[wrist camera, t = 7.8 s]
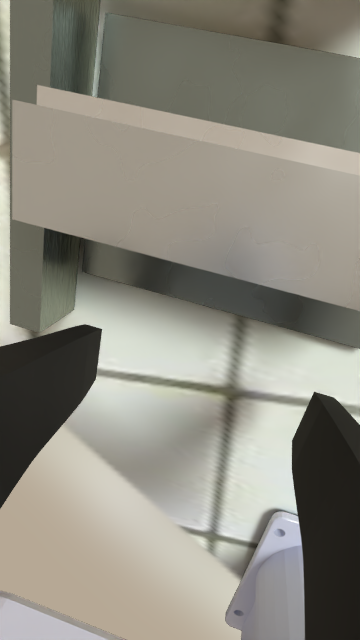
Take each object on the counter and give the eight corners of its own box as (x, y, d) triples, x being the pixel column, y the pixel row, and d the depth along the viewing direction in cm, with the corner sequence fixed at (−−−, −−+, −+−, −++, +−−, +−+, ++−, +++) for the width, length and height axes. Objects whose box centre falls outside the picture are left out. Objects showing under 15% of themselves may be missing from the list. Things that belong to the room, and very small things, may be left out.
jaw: (403, 287, 11) (476, 341, 7) (87, 207, 12) (12, 219, 8) (452, 189, 9) (572, 195, 6) (96, 112, 11) (12, 77, 7)
